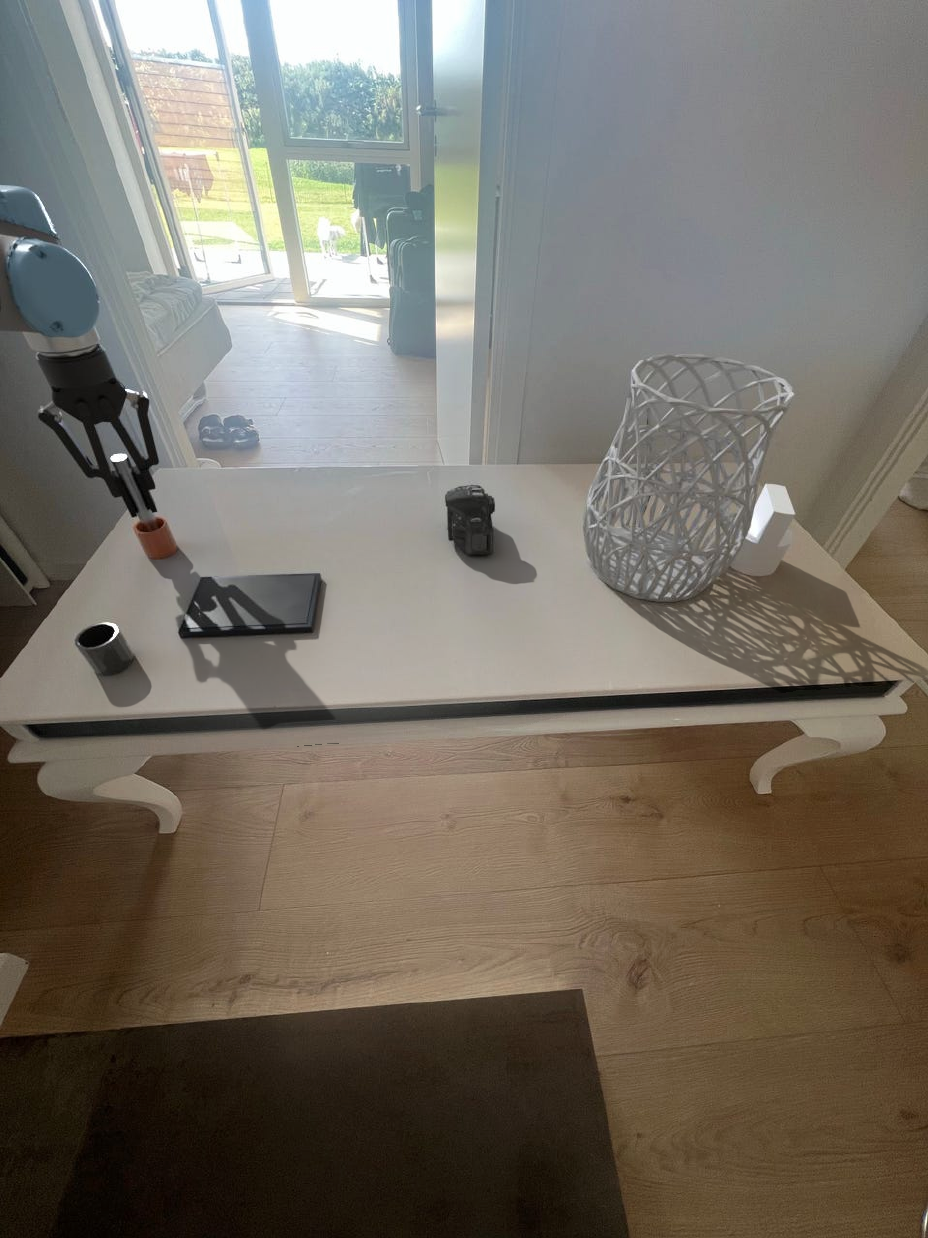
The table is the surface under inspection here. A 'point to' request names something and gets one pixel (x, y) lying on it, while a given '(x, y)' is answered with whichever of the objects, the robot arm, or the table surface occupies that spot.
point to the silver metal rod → (134, 491)
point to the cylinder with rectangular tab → (766, 533)
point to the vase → (677, 487)
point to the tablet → (252, 605)
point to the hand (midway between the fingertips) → (143, 510)
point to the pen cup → (156, 540)
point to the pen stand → (104, 648)
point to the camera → (470, 519)
